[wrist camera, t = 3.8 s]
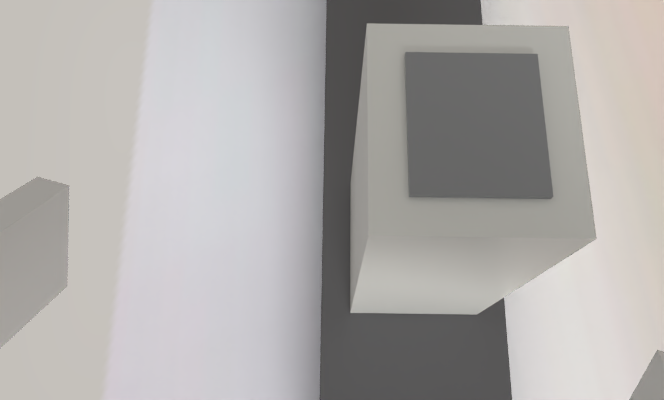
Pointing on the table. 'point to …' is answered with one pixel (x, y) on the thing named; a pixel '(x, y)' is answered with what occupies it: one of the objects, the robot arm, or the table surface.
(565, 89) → the block
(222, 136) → the table surface
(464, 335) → the power strip
